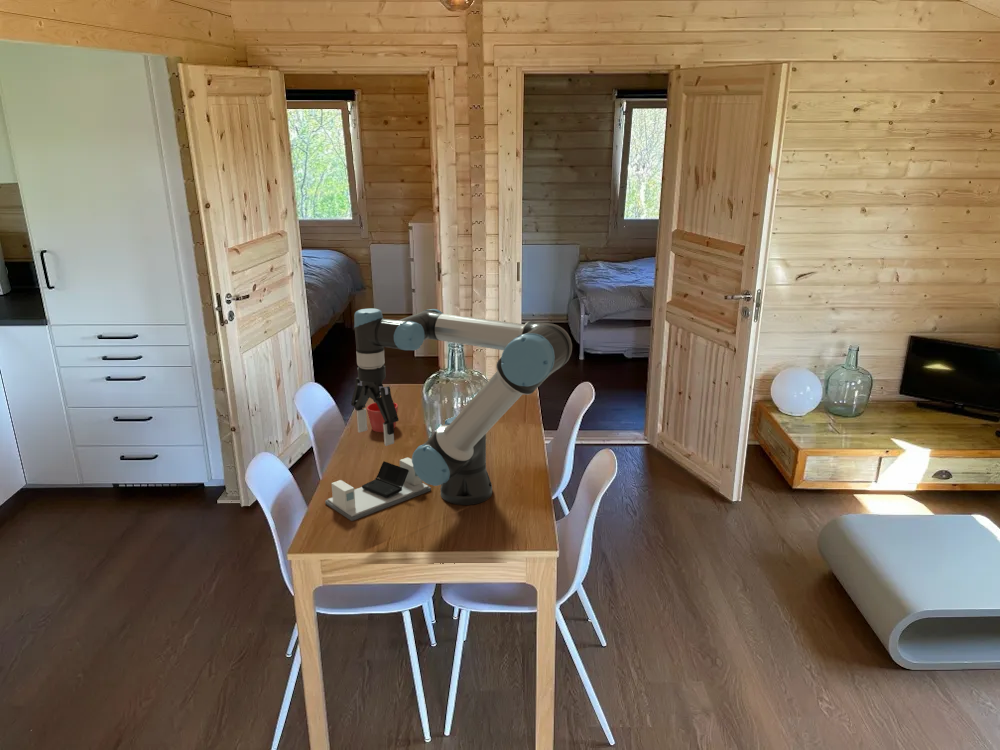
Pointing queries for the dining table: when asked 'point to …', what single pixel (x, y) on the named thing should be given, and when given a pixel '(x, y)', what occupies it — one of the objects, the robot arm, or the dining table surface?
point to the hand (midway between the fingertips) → (375, 437)
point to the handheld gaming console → (387, 480)
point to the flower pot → (377, 417)
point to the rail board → (373, 495)
